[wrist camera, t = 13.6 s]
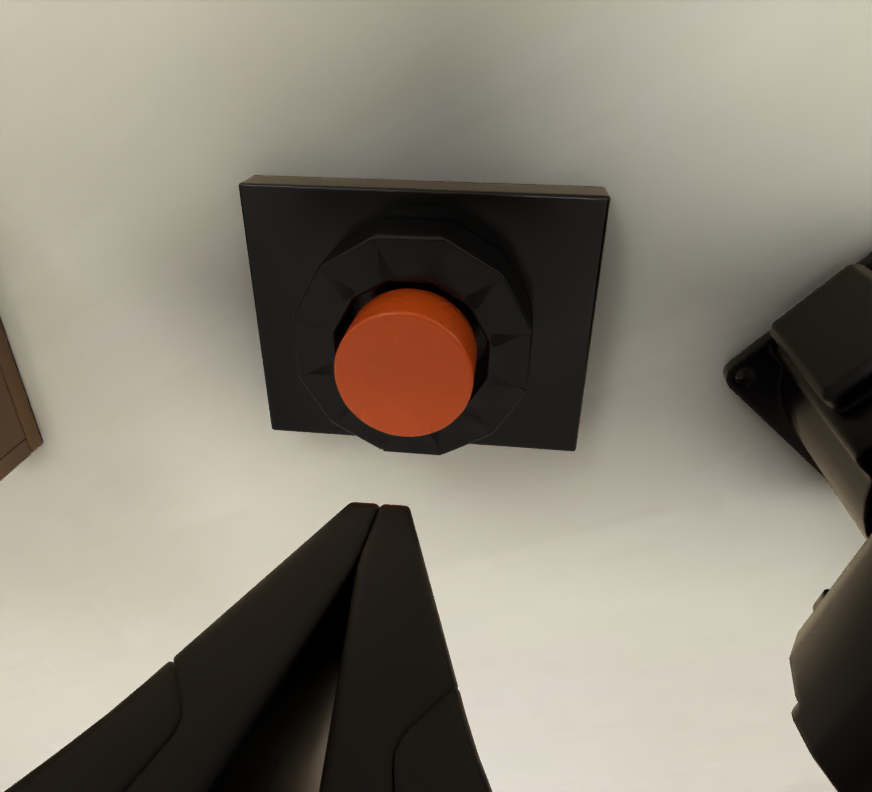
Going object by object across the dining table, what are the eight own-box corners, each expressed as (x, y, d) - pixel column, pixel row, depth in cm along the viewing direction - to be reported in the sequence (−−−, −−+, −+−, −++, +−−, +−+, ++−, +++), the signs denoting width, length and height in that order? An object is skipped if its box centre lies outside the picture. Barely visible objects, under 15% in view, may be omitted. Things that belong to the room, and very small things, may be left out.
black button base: (606, 186, 18) (620, 214, 15) (573, 432, 22) (580, 487, 19) (252, 174, 19) (209, 198, 16) (282, 412, 23) (251, 462, 20)
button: (480, 290, 17) (476, 316, 16) (474, 408, 19) (470, 442, 17) (344, 283, 17) (327, 308, 16) (352, 400, 19) (337, 433, 18)
